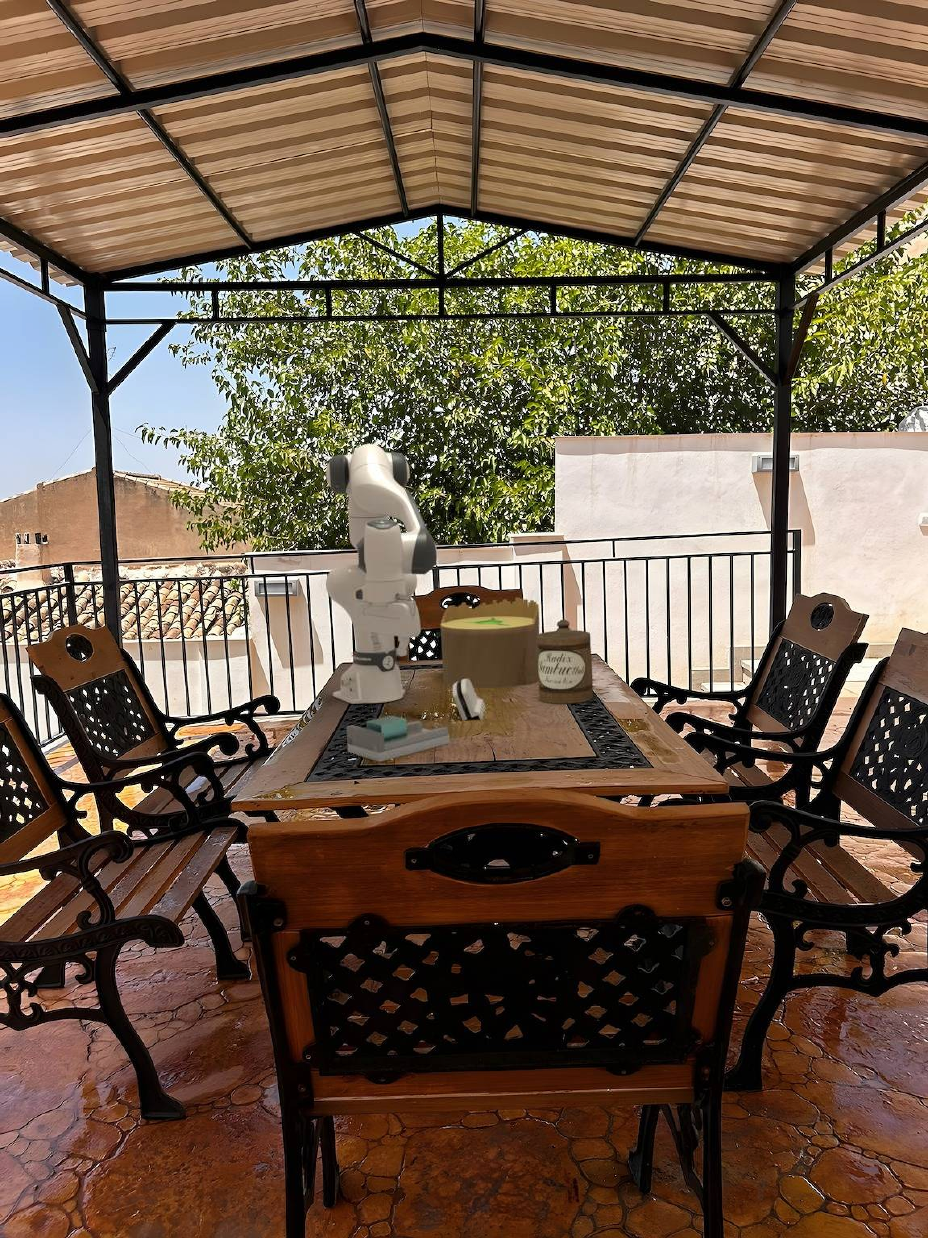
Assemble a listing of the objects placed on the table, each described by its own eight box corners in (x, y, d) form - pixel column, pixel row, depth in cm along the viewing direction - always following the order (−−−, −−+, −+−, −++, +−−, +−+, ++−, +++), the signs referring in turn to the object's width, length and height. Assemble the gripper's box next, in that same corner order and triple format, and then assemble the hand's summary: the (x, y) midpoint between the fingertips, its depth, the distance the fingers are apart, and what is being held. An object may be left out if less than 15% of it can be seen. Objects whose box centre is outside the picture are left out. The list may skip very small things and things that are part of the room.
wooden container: (532, 703, 245) (529, 623, 242) (548, 692, 259) (545, 616, 256) (585, 705, 239) (583, 623, 237) (598, 694, 253) (596, 616, 250)
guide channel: (347, 752, 203) (346, 726, 202) (417, 734, 216) (416, 710, 215) (379, 762, 194) (377, 735, 193) (449, 743, 207) (448, 717, 206)
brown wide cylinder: (488, 665, 307) (485, 595, 304) (566, 675, 282) (564, 599, 279) (417, 679, 286) (413, 605, 283) (495, 693, 261) (492, 611, 258)
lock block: (367, 743, 202) (366, 721, 202) (394, 736, 207) (393, 715, 207) (382, 747, 198) (381, 725, 198) (409, 740, 203) (408, 718, 203)
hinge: (482, 720, 228) (467, 684, 227) (464, 726, 229) (450, 690, 228) (485, 705, 245) (471, 671, 244) (469, 711, 245) (455, 678, 244)
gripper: (425, 594, 196) (428, 656, 198) (371, 588, 211) (374, 646, 213) (402, 597, 192) (406, 660, 194) (349, 591, 207) (352, 650, 209)
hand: (389, 653), depth 204 cm, fingers open, 8 cm apart
